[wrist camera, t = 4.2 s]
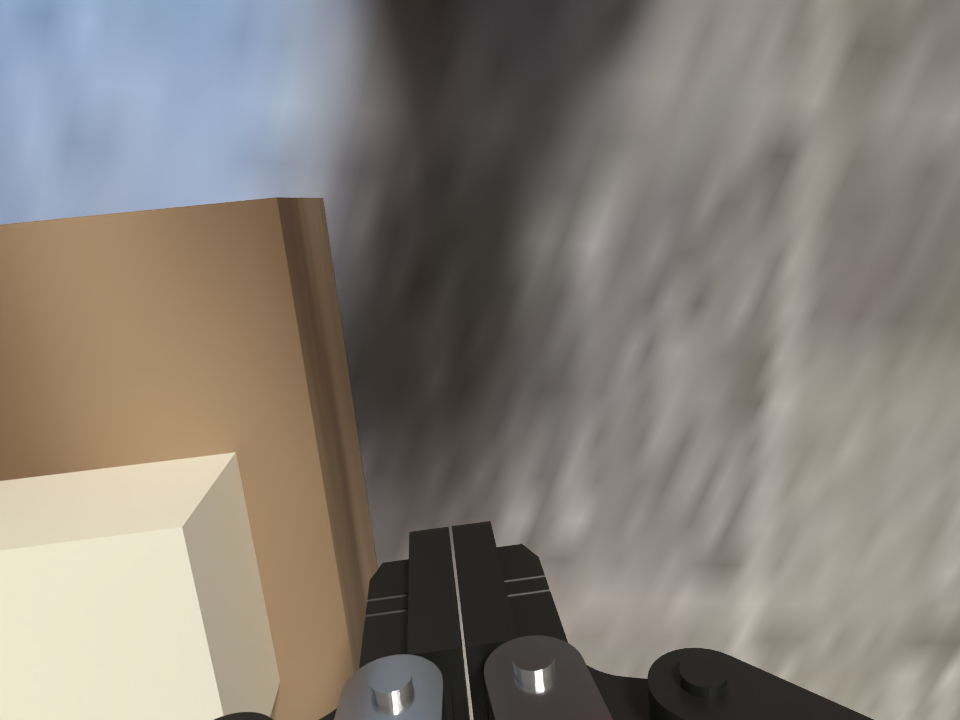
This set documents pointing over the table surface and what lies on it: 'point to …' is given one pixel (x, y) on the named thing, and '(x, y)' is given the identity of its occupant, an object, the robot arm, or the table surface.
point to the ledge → (204, 393)
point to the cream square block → (132, 595)
